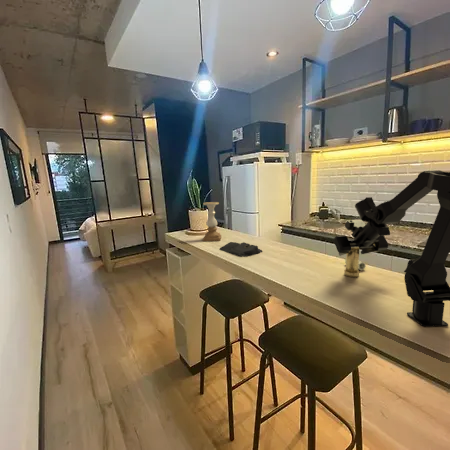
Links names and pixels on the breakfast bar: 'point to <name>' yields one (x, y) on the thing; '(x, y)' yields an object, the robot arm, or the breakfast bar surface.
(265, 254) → the breakfast bar surface
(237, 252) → the dark slate chunk
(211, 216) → the candle holder
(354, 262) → the knob
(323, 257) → the breakfast bar surface
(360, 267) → the pipe fitting
